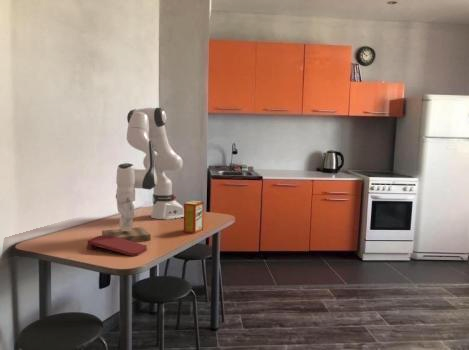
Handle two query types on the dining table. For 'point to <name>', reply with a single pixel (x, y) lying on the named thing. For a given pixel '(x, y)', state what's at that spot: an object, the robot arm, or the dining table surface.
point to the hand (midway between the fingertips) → (125, 224)
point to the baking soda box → (193, 216)
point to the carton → (116, 245)
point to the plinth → (130, 234)
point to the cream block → (122, 224)
